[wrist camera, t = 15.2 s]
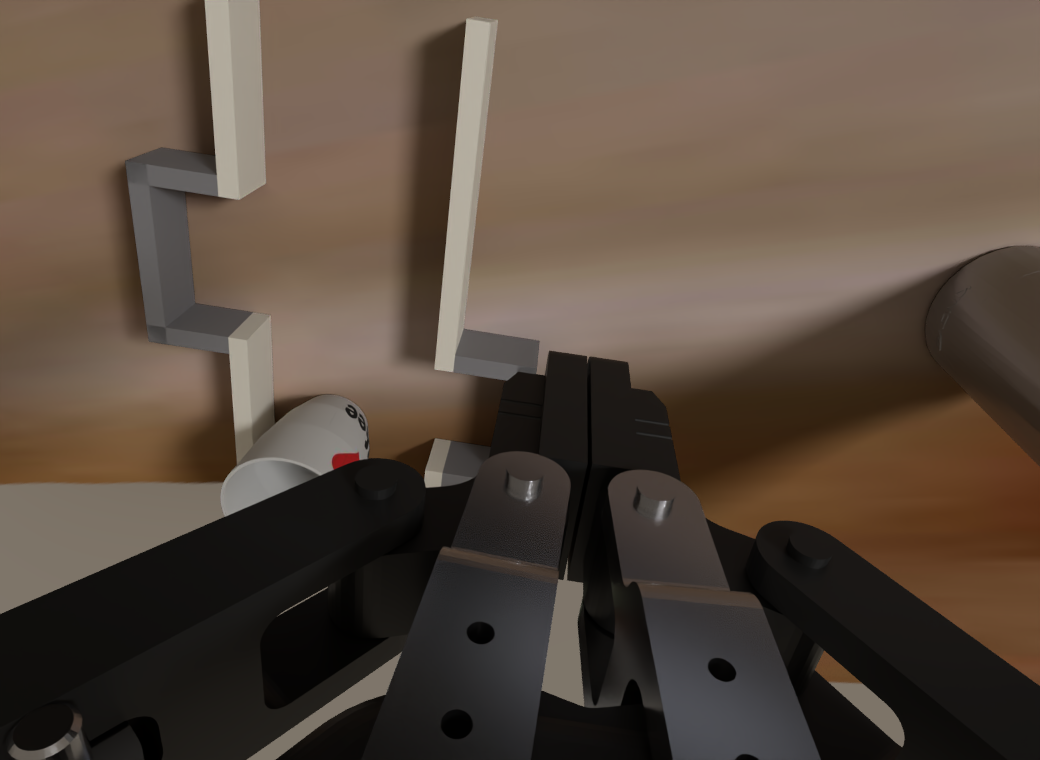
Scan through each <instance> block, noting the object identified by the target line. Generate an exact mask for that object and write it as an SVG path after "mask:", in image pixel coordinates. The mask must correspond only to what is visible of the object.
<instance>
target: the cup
mask: <svg viewBox="0 0 1040 760" xmlns="http://www.w3.org/2000/svg"><path fill="white" fill-rule="evenodd" d="M368 457H369V434H368V423H367V420H366V417H365V415H364V413H363V412H362V411H361V409H360V408H359V407H358V406H357V405H356V404H354V403H353V402H352V401H350V400H348V399H346V398H344V397H341V396H337V395H329V394H328V395H320V396H317V397H314V398H312V399H311V400H309V401H307V402H305V403H303V404H301V405H300V406H298V407H296V408H294V409H292V410H291V411H289V412H288V413H287V414H286V415H285V416H284V417H283V418H281V419H280V420H279V421H278V422H277V423H276V424H274V425H273V426H272V427H271V428H270V429H269V430H268V431H266V432H265V433H264V434H263V435H262V436H261V437H260V438H259V439H258V440H257V442H256V443H255V444H254V445H253V446H252V447H251V449H250V450H249V451H248V452H247V453H246V455H245V456H244V457H243V458H242V459H241V461H240V462H239V463H238V464H237V465H236V466H235V468H234V469H233V470H232V471H231V472H230V474H229V475H228V476H227V477H226V479H225V481H224V483H223V485H222V488H221V495H220V500H221V507H222V511H223V513H224V516H225V517H226V516H228V515H230V514H233V513H235V512H237V511H239V510H242V509H244V508H246V507H249V506H251V505H253V504H256V503H258V502H260V501H263V500H265V499H267V498H269V497H272V496H274V495H276V494H279V493H281V492H283V491H286V490H288V489H290V488H293V487H295V486H297V485H299V484H302V483H304V482H306V481H309V480H311V479H313V478H316V477H318V476H320V475H323V474H325V473H327V472H329V471H332V470H334V469H336V468H339V467H341V466H343V465H346V464H348V463H351V462H354V461H358V460H362V459H368Z"/></svg>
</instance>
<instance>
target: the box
mask: <svg viewBox="0 0 1040 760" xmlns="http://www.w3.org/2000/svg"><path fill="white" fill-rule="evenodd" d="M205 12H206V26H207V41H208V55H209V69H210V84H211V98H212V112H213V127H214V141H215V155H216V156H213V155H206V154H200V153H194V152H187V151H181V150H175V149H168V148H162V147H161V148H159V149H156V150H153V151H151V152H148V153H145V154H142V155H140V156H137V157H134V158H132V159H129V160H126V161H125V164H126V172H127V179H128V187H129V195H130V202H131V210H132V217H133V225H134V233H135V240H136V248H137V255H138V263H139V271H140V278H141V286H142V293H143V301H144V309H145V316H146V324H147V332H148V339H149V342H155V343H161V344H168V345H174V346H181V347H187V348H194V349H200V350H207V351H213V352H219V353H226V354H229V356H230V370H231V385H232V399H233V413H234V428H235V442H236V456H237V464H238V463H239V462H240V461H241V459H242V458H243V457H244V456H245V455H246V453H247V452H248V451H249V450H250V449H251V447H252V446H253V445H254V444H255V443H256V442H257V440H258V439H259V438H260V437H261V436H262V435H263V434H264V433H265V432H266V431H268V430H269V429H270V428H271V427H272V426H273V425H274V424H275V418H274V390H273V363H272V335H271V315H267V314H261V313H254V312H248V311H242V310H235V309H229V308H222V307H216V306H209V305H203V304H197V303H195V296H194V285H193V274H192V263H191V253H190V242H189V231H188V220H187V209H186V199H185V191H186V192H193V193H199V194H206V195H212V196H218V197H225V198H231V199H237V200H240V199H241V198H243V197H245V196H246V195H248V194H249V193H251V192H253V191H254V190H256V189H258V188H259V187H261V186H263V185H264V184H266V170H265V142H264V114H263V87H262V59H261V32H260V4H259V0H205ZM497 25H498V20H494V19H488V18H482V17H472V18H468V19H467V21H466V32H465V42H464V53H463V64H462V75H461V86H460V97H459V108H458V119H457V129H456V140H455V151H454V162H453V173H452V184H451V195H450V206H449V217H448V227H447V238H446V249H445V260H444V271H443V282H442V293H441V304H440V315H439V325H438V336H437V347H436V358H435V370H442V371H448V372H455V373H461V374H468V375H474V376H481V377H487V378H493V379H500V380H506V381H508V380H509V379H510V378H511V377H512V376H513V375H515V374H516V373H517V372H524V373H531V374H536V371H537V362H538V351H539V341H537V340H531V339H524V338H518V337H511V336H505V335H499V334H492V333H486V332H479V331H473V330H467V329H464V321H465V312H466V303H467V294H468V285H469V276H470V267H471V258H472V249H473V240H474V231H475V222H476V213H477V204H478V195H479V186H480V177H481V168H482V159H483V151H484V142H485V133H486V124H487V115H488V106H489V97H490V88H491V79H492V70H493V61H494V52H495V43H496V34H497ZM490 449H491V447H488V446H482V445H475V444H469V443H462V442H456V441H449V440H443V439H436V438H435V440H434V444H433V447H432V450H431V453H430V456H429V460H428V463H427V466H426V469H425V478H424V482H425V486H426V488H428V487H442V486H451V485H456V484H460V483H463V482H466V481H468V480H470V479H472V478H474V477H476V476H477V473H478V471H479V468H480V467H481V465H482V464H483V463H484V461H486V460H487V459H488V458H489V454H490Z"/></svg>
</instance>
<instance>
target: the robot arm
mask: <svg viewBox="0 0 1040 760" xmlns="http://www.w3.org/2000/svg"><path fill="white" fill-rule="evenodd" d="M925 336H926V342H927V346H928V348H929V351H930V353H931V355H932V357H933V358H934V359H935V360H936V361H937V363H938V364H939V365H940V366H941V367H942V368H943V369H944V370H945V371H946V372H947V373H948V374H949V375H950V376H951V377H952V378H953V379H954V380H955V381H956V382H957V383H958V384H959V385H960V386H961V387H962V388H963V389H964V391H965V392H966V393H967V394H968V395H969V396H970V397H971V398H972V399H973V400H974V401H975V402H976V403H977V404H978V405H979V406H980V407H981V408H982V409H983V410H984V411H985V412H986V413H987V414H988V415H989V416H990V417H991V418H992V419H993V420H994V421H995V422H996V423H997V424H998V425H999V426H1000V427H1001V428H1002V429H1003V430H1004V431H1005V432H1006V433H1007V434H1008V435H1009V436H1010V437H1011V438H1012V439H1013V440H1014V441H1015V442H1016V443H1017V444H1018V445H1019V446H1020V447H1021V448H1022V449H1023V450H1024V451H1025V452H1026V453H1027V454H1028V455H1029V456H1030V457H1031V458H1032V459H1033V460H1034V461H1035V462H1036V463H1037V464H1038V465H1039V466H1040V247H1036V246H1014V247H1009V248H1005V249H1000V250H996V251H994V252H991V253H989V254H986V255H984V256H981V257H979V258H978V259H976V260H974V261H973V262H971V263H969V264H968V265H966V266H964V267H963V268H962V269H961V270H959V271H958V272H957V273H956V274H955V275H953V276H952V277H951V278H950V279H949V280H948V282H947V283H946V284H945V285H944V286H943V287H942V289H941V290H940V291H939V292H938V294H937V296H936V298H935V299H934V301H933V303H932V304H931V307H930V310H929V313H928V316H927V319H926V328H925ZM671 438H672V435H671V430H670V427H669V420H668V415H667V410H666V407H665V406H664V404H663V403H662V402H661V401H660V400H659V399H658V398H657V396H656V395H655V394H654V393H653V392H652V391H646V390H640V389H633V388H631V382H630V374H629V366H628V362H623V361H617V360H610V359H603V358H596V357H589V359H588V363H587V356H582V355H575V354H569V353H562V352H555V351H549V354H548V359H547V365H546V372H545V375H538V374H531V373H524V372H517V373H516V374H515V375H513V376H512V377H511V378H510V379H509V380H508V381H506V382H505V383H504V387H503V392H502V397H501V402H500V406H499V411H498V416H497V420H496V425H495V430H494V435H493V439H492V444H491V449H490V454H489V458H488V459H487V460H486V461H484V463H483V464H482V465H481V467H480V468H479V471H478V473H477V476H476V477H474V478H472V479H470V480H468V481H466V482H463V483H460V484H456V485H451V486H442V487H428V488H426V486H425V482H424V480H423V478H422V476H421V475H420V474H419V473H418V472H417V471H416V470H415V469H413V468H412V467H410V466H408V465H406V464H404V463H401V462H398V461H395V460H390V459H381V458H371V459H362V460H358V461H354V462H351V463H348V464H346V465H343V466H341V467H339V468H336V469H334V470H332V471H329V472H327V473H325V474H323V475H320V476H318V477H316V478H313V479H311V480H309V481H306V482H304V483H302V484H299V485H297V486H295V487H293V488H290V489H288V490H286V491H283V492H281V493H279V494H276V495H274V496H272V497H269V498H267V499H265V500H263V501H260V502H258V503H256V504H253V505H251V506H249V507H246V508H244V509H242V510H239V511H237V512H235V513H233V514H230V515H228V516H226V517H224V518H221V519H219V520H217V521H214V522H212V523H209V524H207V525H205V526H203V527H200V528H198V529H196V530H193V531H191V532H189V533H187V534H184V535H182V536H180V537H177V538H175V539H173V540H170V541H168V542H166V543H163V544H161V545H159V546H157V547H154V548H152V549H150V550H147V551H145V552H143V553H140V554H138V555H136V556H133V557H131V558H129V559H126V560H124V561H122V562H119V563H117V564H115V565H113V566H110V567H108V568H106V569H103V570H101V571H99V572H96V573H94V574H92V575H89V576H87V577H85V578H83V579H80V580H78V581H76V582H73V583H71V584H69V585H67V586H64V587H62V588H60V589H57V590H55V591H53V592H50V593H48V594H46V595H43V596H41V597H39V598H36V599H34V600H32V601H29V602H27V603H25V604H23V605H20V606H18V607H16V608H13V609H11V610H9V611H6V612H4V613H2V614H0V760H247V759H248V758H249V757H251V756H252V755H254V754H255V753H257V752H258V751H260V750H261V749H262V748H264V747H265V746H267V745H268V744H270V743H271V742H272V741H274V740H275V739H277V738H278V737H280V736H281V735H283V734H284V733H285V732H287V731H288V730H290V729H291V728H293V727H294V726H295V725H297V724H298V723H300V722H301V721H303V720H304V719H305V718H307V717H308V716H310V715H311V714H313V713H314V712H316V711H317V710H319V709H320V708H322V707H323V706H324V705H326V704H327V703H329V702H330V701H331V700H333V699H334V698H336V697H337V696H339V695H340V694H342V693H343V692H345V691H346V690H347V689H349V688H350V687H352V686H353V685H354V684H356V683H357V682H359V681H360V680H362V679H363V678H365V677H366V676H368V675H369V674H370V673H372V672H373V671H375V670H376V669H378V668H379V667H380V666H382V665H383V664H385V663H386V662H388V661H389V660H391V659H392V658H393V657H395V656H396V655H398V654H399V653H400V652H402V653H401V656H400V658H399V661H398V664H397V666H396V669H395V671H394V674H393V677H392V679H391V682H390V685H389V687H388V690H387V693H386V695H383V696H380V697H377V698H374V699H371V700H368V701H365V702H363V703H360V704H358V705H356V706H354V707H351V708H349V709H347V710H345V711H343V712H342V713H340V714H338V715H337V716H335V717H333V718H331V719H330V720H328V721H327V722H325V723H324V724H322V725H321V726H320V727H318V728H317V729H315V730H314V731H313V732H311V733H310V734H309V735H307V736H306V737H305V738H304V739H302V740H301V741H300V742H298V743H297V744H296V745H294V746H293V747H292V748H290V749H289V750H288V751H287V752H285V753H284V754H283V755H281V756H280V757H279V758H277V759H276V760H1040V686H1039V685H1038V684H1036V683H1035V682H1033V681H1032V680H1031V679H1029V678H1028V677H1027V676H1025V675H1024V674H1022V673H1021V672H1020V671H1018V670H1017V669H1016V668H1014V667H1013V666H1011V665H1010V664H1009V663H1007V662H1006V661H1004V660H1003V659H1002V658H1000V657H999V656H998V655H996V654H995V653H993V652H992V651H991V650H989V649H988V648H986V647H985V646H984V645H982V644H981V643H980V642H978V641H977V640H975V639H974V638H973V637H971V636H970V635H968V634H967V633H966V632H964V631H963V630H962V629H960V628H959V627H957V626H956V625H955V624H953V623H952V622H951V621H949V620H948V619H946V618H945V617H944V616H942V615H941V614H939V613H938V612H937V611H935V610H934V609H933V608H931V607H930V606H928V605H927V604H926V603H924V602H923V601H921V600H920V599H919V598H917V597H916V596H915V595H913V594H912V593H910V592H909V591H908V590H906V589H905V588H903V587H902V586H901V585H899V584H898V583H897V582H895V581H894V580H892V579H891V578H890V577H888V576H887V575H886V574H884V573H883V572H881V571H880V570H879V569H877V568H876V567H874V566H873V565H872V564H870V563H869V562H868V561H866V560H865V559H863V558H862V557H861V556H859V555H858V554H856V553H855V552H854V551H852V550H851V549H850V548H848V547H847V546H845V545H844V544H843V543H841V542H840V541H839V540H837V539H836V538H834V537H833V536H831V535H830V534H828V533H826V532H824V531H822V530H820V529H818V528H815V527H813V526H810V525H807V524H804V523H799V522H794V521H775V522H771V523H768V524H766V525H764V526H763V527H762V528H761V529H760V530H759V532H758V534H757V536H756V539H753V538H750V537H748V536H745V535H742V534H740V533H737V532H734V531H732V530H729V529H726V528H724V527H722V526H719V525H717V524H715V523H713V522H711V521H710V520H708V519H707V518H705V516H704V513H703V510H702V507H701V504H700V501H699V499H698V497H697V496H696V495H695V493H694V492H693V491H692V490H691V489H690V488H689V487H688V486H686V485H685V484H684V483H682V482H681V480H680V475H679V470H678V465H677V460H676V455H675V450H674V445H673V440H671ZM567 560H568V575H567V580H569V581H575V582H582V583H583V599H582V603H581V608H580V612H579V616H578V635H579V647H580V659H581V671H582V684H583V695H584V707H583V706H580V705H577V704H575V703H572V702H569V701H567V700H564V699H562V698H559V697H557V696H554V695H552V694H549V693H546V692H544V691H541V690H542V683H543V676H544V670H545V663H546V657H547V650H548V643H549V636H550V630H551V624H552V617H553V610H554V604H555V597H556V590H557V583H558V579H560V580H563V579H564V574H565V569H566V564H567ZM327 586H328V588H327V589H325V590H324V591H322V592H320V593H318V594H316V595H314V596H313V597H311V598H309V599H307V600H306V601H304V602H302V603H300V604H298V605H297V606H295V607H293V608H291V609H290V610H288V611H286V612H284V613H283V614H281V615H279V614H280V613H282V612H283V611H285V610H286V609H288V608H290V607H292V606H293V605H295V604H297V603H299V602H301V601H302V600H304V599H306V598H308V597H310V596H311V595H313V594H315V593H317V592H318V591H320V590H322V589H324V588H326V587H327ZM278 615H279V616H278ZM824 650H825V651H826V652H827V653H828V654H829V655H830V656H832V657H833V658H834V659H835V660H836V661H837V662H839V663H840V664H841V665H842V666H843V667H844V668H845V669H847V670H848V671H849V672H850V673H851V674H852V675H854V676H855V677H856V678H857V679H858V680H859V681H860V682H862V683H863V684H864V685H865V686H866V687H867V688H869V689H870V690H871V691H872V692H873V693H875V694H876V695H877V696H878V697H879V698H880V699H881V700H882V701H884V702H885V703H886V704H887V705H888V706H889V707H890V708H891V709H892V710H893V711H894V713H895V714H896V716H897V717H898V718H899V720H900V722H901V725H902V727H903V730H904V735H905V741H904V746H903V747H901V746H899V745H898V744H897V743H895V742H894V741H893V740H892V739H891V738H890V737H888V736H887V735H886V734H885V733H884V732H883V731H882V730H881V729H880V728H879V727H877V726H876V725H875V724H874V723H873V722H872V721H871V720H870V719H869V718H867V717H866V716H865V715H864V714H863V713H862V712H861V711H860V710H859V709H857V708H856V707H855V706H854V705H853V704H852V703H851V702H850V701H848V700H847V699H846V698H845V697H844V696H843V695H842V694H841V693H840V692H838V691H837V690H836V689H835V688H834V687H833V686H832V685H831V684H830V683H828V682H827V681H826V680H825V679H824V678H823V677H822V676H821V675H820V674H818V673H817V672H816V671H815V668H816V666H817V664H818V662H819V660H820V658H821V656H822V654H823V651H824Z"/></svg>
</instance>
